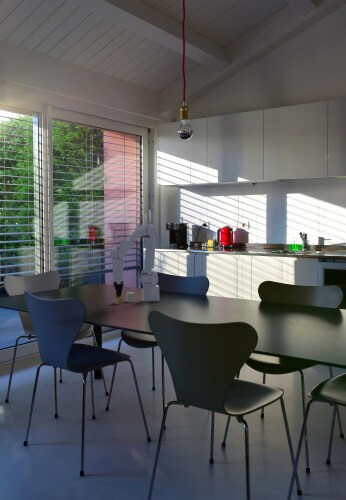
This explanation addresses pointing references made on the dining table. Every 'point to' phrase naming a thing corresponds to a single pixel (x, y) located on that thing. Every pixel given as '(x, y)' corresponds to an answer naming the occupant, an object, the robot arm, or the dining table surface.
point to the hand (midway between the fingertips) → (118, 295)
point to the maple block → (118, 299)
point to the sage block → (130, 297)
